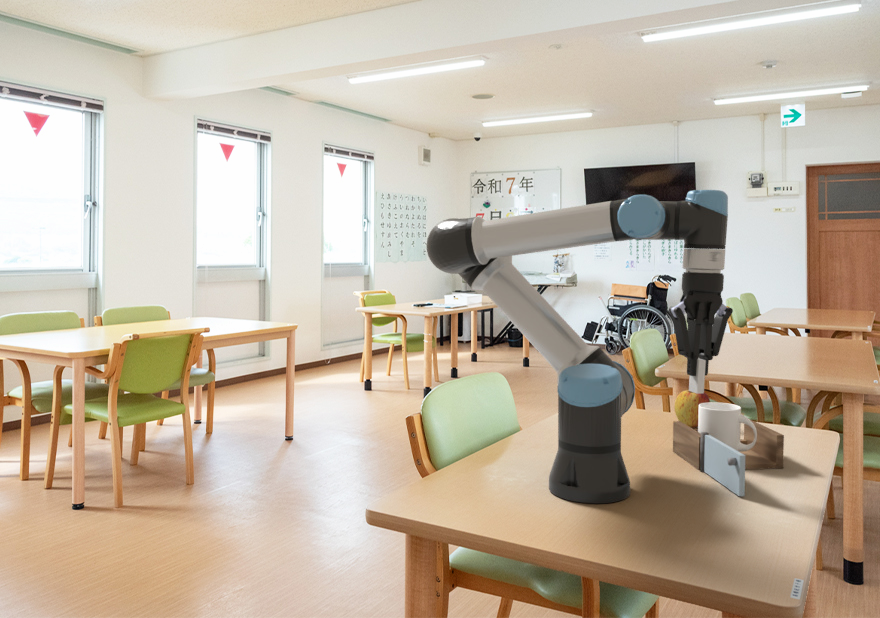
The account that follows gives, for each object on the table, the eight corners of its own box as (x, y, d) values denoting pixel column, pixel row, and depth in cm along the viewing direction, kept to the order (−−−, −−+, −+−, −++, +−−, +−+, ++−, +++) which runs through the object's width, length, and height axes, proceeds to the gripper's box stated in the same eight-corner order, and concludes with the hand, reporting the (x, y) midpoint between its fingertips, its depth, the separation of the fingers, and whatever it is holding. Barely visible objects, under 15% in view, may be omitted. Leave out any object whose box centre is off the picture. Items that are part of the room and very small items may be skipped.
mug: (750, 465, 144) (752, 414, 143) (692, 455, 151) (693, 407, 150) (761, 455, 150) (762, 407, 150) (704, 447, 158) (705, 400, 157)
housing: (701, 472, 142) (702, 434, 142) (672, 451, 158) (673, 416, 157) (787, 470, 143) (788, 432, 143) (749, 449, 159) (750, 415, 158)
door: (698, 471, 142) (699, 435, 141) (708, 471, 142) (709, 434, 142) (732, 496, 127) (733, 455, 127) (744, 496, 127) (745, 455, 127)
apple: (710, 431, 176) (711, 392, 175) (672, 429, 179) (673, 390, 178) (710, 423, 184) (710, 386, 184) (674, 421, 187) (674, 384, 187)
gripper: (685, 271, 128) (678, 397, 130) (745, 272, 132) (737, 395, 134) (662, 270, 135) (656, 389, 137) (719, 271, 139) (712, 387, 141)
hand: (696, 391), depth 135 cm, fingers closed
